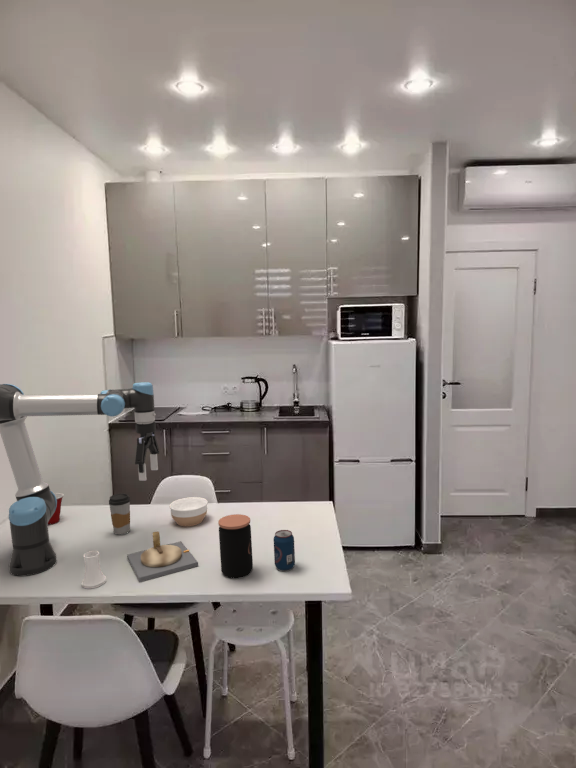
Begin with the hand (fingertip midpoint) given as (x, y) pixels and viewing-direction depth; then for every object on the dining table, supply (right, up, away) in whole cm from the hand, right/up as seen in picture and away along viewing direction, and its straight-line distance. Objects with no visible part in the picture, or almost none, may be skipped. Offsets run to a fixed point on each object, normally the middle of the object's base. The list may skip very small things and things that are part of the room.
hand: (148, 475), depth 202 cm
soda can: (+54, -26, -28) cm, 66 cm away
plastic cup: (-48, -24, +22) cm, 58 cm away
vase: (-9, -30, -33) cm, 46 cm away
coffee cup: (-13, -25, +7) cm, 29 cm away
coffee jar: (+38, -27, -30) cm, 55 cm away
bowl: (+13, -23, +16) cm, 31 cm away
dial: (+10, -25, -21) cm, 34 cm away
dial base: (+10, -27, -21) cm, 36 cm away
